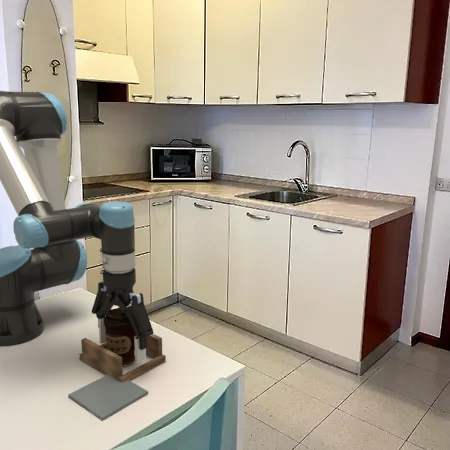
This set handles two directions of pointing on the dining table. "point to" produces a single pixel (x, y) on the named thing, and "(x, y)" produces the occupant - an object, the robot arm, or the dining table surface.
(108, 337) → the coffee cup
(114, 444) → the dining table surface
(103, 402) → the coaster
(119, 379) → the rack
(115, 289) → the robot arm
